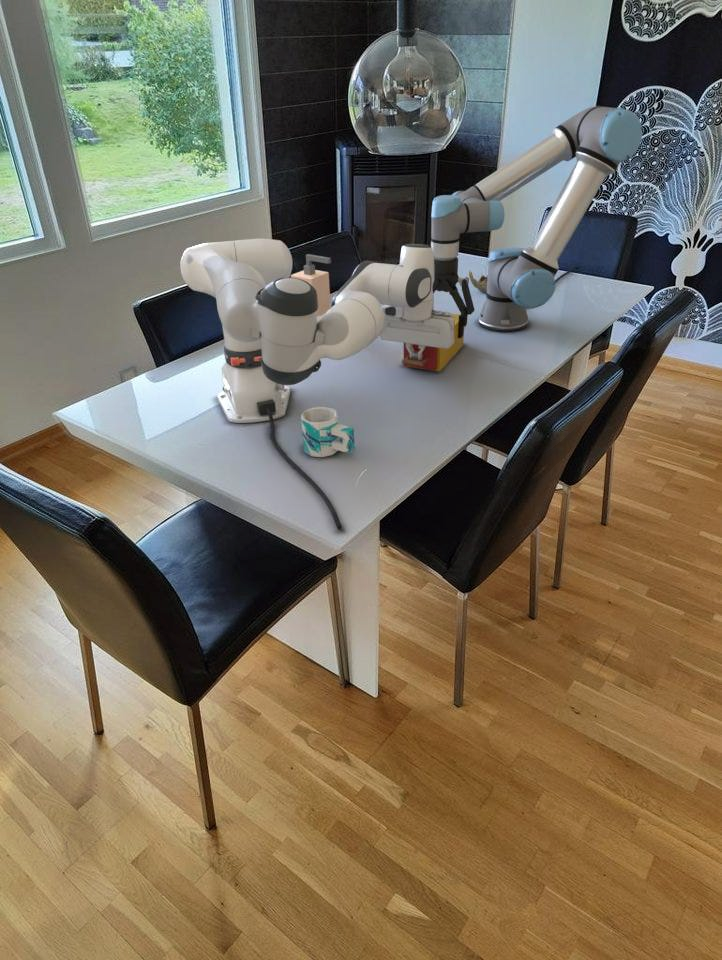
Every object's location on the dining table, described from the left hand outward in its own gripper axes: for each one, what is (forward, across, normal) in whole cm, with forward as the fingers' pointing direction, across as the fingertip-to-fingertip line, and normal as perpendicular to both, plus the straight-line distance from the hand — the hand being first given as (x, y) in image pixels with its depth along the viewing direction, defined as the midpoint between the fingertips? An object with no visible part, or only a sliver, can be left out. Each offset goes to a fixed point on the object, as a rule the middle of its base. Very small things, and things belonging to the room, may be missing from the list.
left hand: (415, 358), depth 179 cm
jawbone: (+5, +3, -77) cm, 77 cm away
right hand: (0, 0, -21) cm, 21 cm away
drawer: (+4, 0, -10) cm, 11 cm away
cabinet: (+5, 0, -15) cm, 16 cm away
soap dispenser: (+5, +44, -25) cm, 50 cm away
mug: (+5, +3, +45) cm, 45 cm away
